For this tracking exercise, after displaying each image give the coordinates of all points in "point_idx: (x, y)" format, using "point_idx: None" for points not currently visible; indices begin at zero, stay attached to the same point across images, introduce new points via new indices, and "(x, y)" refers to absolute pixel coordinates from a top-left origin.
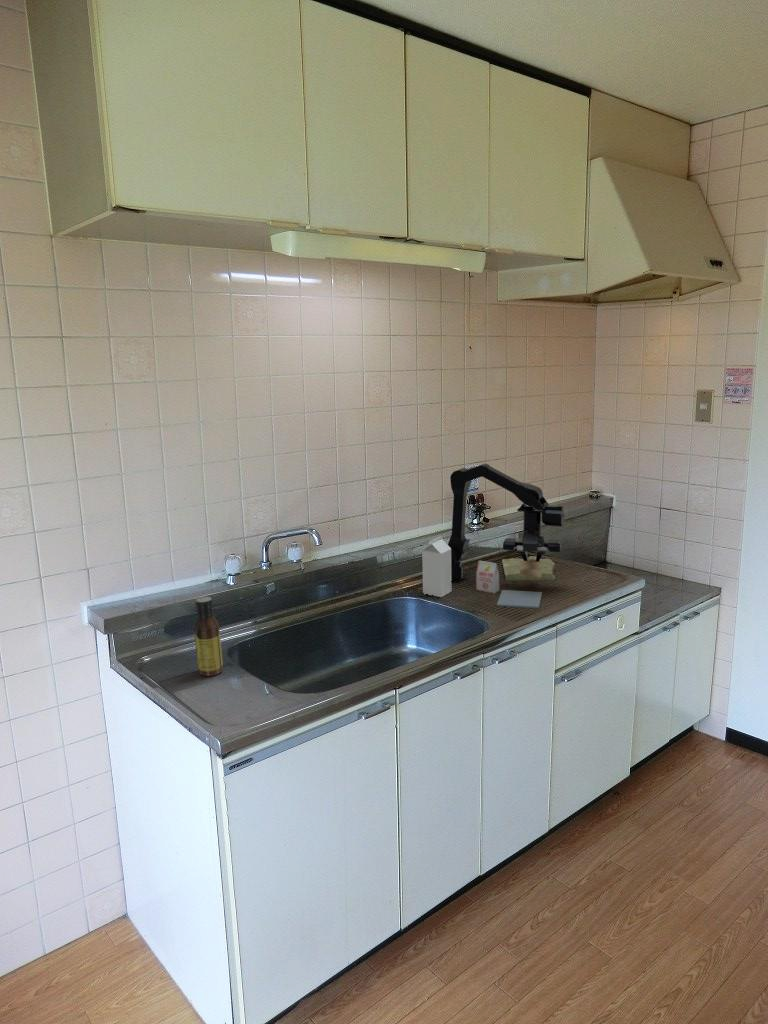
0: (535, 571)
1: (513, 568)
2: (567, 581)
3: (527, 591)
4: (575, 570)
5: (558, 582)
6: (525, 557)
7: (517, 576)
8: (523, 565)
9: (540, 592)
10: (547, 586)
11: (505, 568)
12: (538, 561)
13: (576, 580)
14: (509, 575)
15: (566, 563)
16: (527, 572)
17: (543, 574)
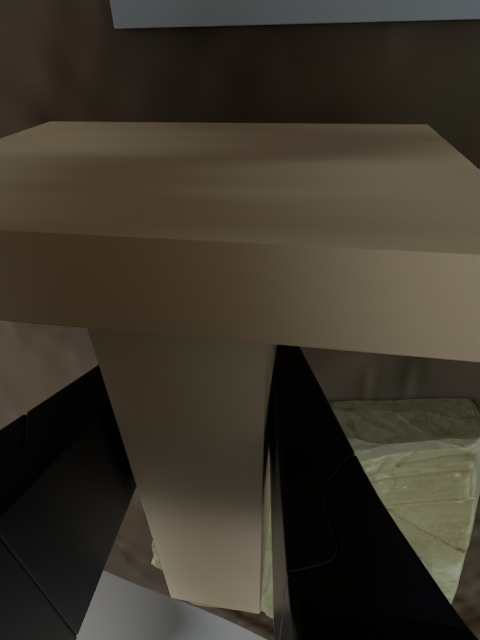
0: (98, 142)
1: (400, 527)
2: (44, 388)
3: (289, 13)
4: None
5: (87, 370)
6: (315, 533)
7: (378, 426)
8: (383, 192)
9: (126, 4)
10: None
11: (463, 532)
12: (33, 415)
13: (6, 404)
14: (451, 433)
15: (136, 574)
16: (272, 138)
17: None
